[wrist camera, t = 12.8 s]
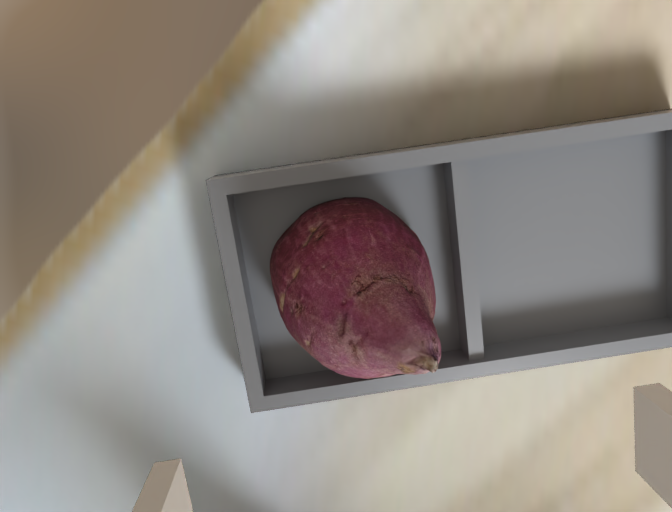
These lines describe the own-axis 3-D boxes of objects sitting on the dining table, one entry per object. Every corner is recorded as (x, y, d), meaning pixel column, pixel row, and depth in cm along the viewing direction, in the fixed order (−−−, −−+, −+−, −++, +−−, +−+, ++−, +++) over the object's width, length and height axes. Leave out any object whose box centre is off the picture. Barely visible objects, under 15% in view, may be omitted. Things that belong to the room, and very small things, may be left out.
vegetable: (427, 223, 39) (586, 263, 26) (377, 359, 40) (505, 470, 26) (292, 170, 36) (393, 184, 22) (238, 322, 36) (303, 430, 22)
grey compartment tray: (671, 323, 40) (705, 341, 36) (255, 388, 39) (250, 412, 36) (670, 108, 36) (708, 106, 33) (215, 175, 36) (205, 180, 32)
